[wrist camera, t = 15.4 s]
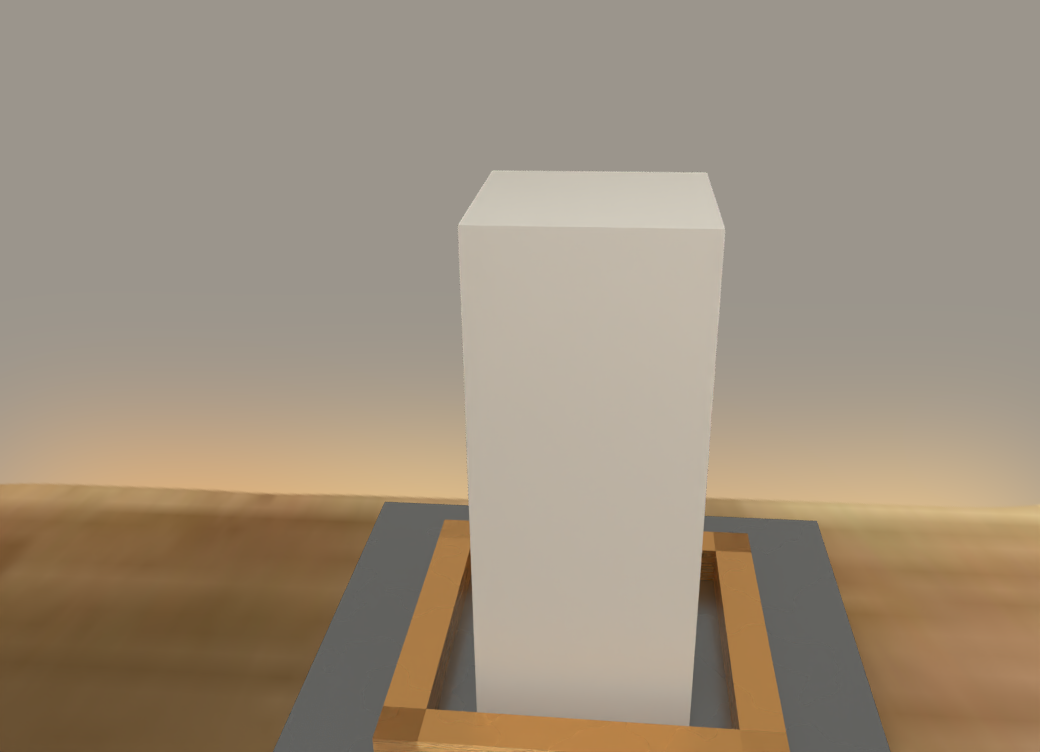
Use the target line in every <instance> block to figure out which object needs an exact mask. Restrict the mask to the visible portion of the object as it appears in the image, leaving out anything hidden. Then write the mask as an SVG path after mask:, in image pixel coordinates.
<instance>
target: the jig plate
mask: <svg viewBox="0 0 1040 752" xmlns="http://www.w3.org/2000/svg"><path fill="white" fill-rule="evenodd" d="M273 752H890V749H889V746H888V743H887V739H886V736H885V733H884V730H883V727H882V724H881V721H880V718H879V714H878V711H877V708H876V705H875V702H874V699H873V696H872V692H871V689H870V686H869V683H868V680H867V677H866V674H865V671H864V667H863V664H862V661H861V658H860V655H859V652H858V649H857V645H856V642H855V639H854V636H853V633H852V630H851V627H850V624H849V620H848V617H847V614H846V611H845V608H844V605H843V602H842V598H841V595H840V592H839V589H838V586H837V583H836V580H835V576H834V573H833V570H832V567H831V564H830V561H829V558H828V555H827V551H826V548H825V545H824V542H823V539H822V536H821V533H820V529H819V526H818V523H817V521H804V520H782V519H759V518H737V517H714V516H704V530H703V544H702V557H701V571H700V585H699V599H698V613H697V626H696V640H695V654H694V668H693V682H692V695H691V709H690V723H689V726H678V725H662V724H647V723H632V722H617V721H602V720H587V719H572V718H556V717H541V716H526V715H511V714H496V713H481V712H477V703H476V677H475V652H474V626H473V601H472V575H471V550H470V524H469V506H466V505H444V504H421V503H398V502H385V503H384V505H383V507H382V510H381V512H380V514H379V516H378V519H377V521H376V523H375V525H374V528H373V530H372V532H371V534H370V536H369V539H368V541H367V543H366V545H365V548H364V550H363V552H362V554H361V557H360V559H359V561H358V563H357V565H356V568H355V570H354V572H353V574H352V577H351V579H350V581H349V583H348V586H347V588H346V590H345V592H344V594H343V597H342V599H341V601H340V603H339V606H338V608H337V610H336V612H335V615H334V617H333V619H332V621H331V623H330V626H329V628H328V630H327V632H326V635H325V637H324V639H323V641H322V644H321V646H320V648H319V650H318V653H317V655H316V657H315V659H314V661H313V664H312V666H311V668H310V670H309V673H308V675H307V677H306V679H305V682H304V684H303V686H302V688H301V690H300V693H299V695H298V697H297V699H296V702H295V704H294V706H293V708H292V711H291V713H290V715H289V717H288V719H287V722H286V724H285V726H284V728H283V731H282V733H281V735H280V737H279V740H278V742H277V744H276V746H275V748H274V751H273Z"/></svg>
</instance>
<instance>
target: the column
mask: <svg viewBox="0 0 1040 752" xmlns="http://www.w3.org/2000/svg"><path fill="white" fill-rule="evenodd" d="M724 239H725V227H724V224H723V221H722V218H721V215H720V211H719V208H718V206H717V202H716V199H715V196H714V193H713V190H712V187H711V184H710V181H709V178H708V175H707V172H599V171H597V172H596V171H595V172H594V171H593V172H592V171H492V172H491V174H490V175H489V177H488V178H487V180H486V181H485V183H484V185H483V186H482V188H481V189H480V191H479V193H478V194H477V196H476V197H475V199H474V200H473V202H472V204H471V205H470V207H469V208H468V210H467V211H466V213H465V215H464V216H463V218H462V219H461V221H460V223H459V224H458V243H459V269H460V293H461V317H462V318H461V320H462V343H463V344H462V346H463V371H464V396H465V421H466V447H467V473H468V499H469V524H470V550H471V575H472V601H473V626H474V652H475V677H476V703H477V712H481V713H496V714H511V715H526V716H541V717H556V718H572V719H587V720H602V721H617V722H632V723H647V724H662V725H678V726H689V723H690V709H691V695H692V682H693V668H694V654H695V640H696V626H697V613H698V599H699V585H700V571H701V557H702V544H703V530H704V516H705V502H706V488H707V474H708V460H709V447H710V432H711V418H712V405H713V391H714V377H715V364H716V350H717V336H718V322H719V308H720V295H721V280H722V267H723V253H724Z"/></svg>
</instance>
